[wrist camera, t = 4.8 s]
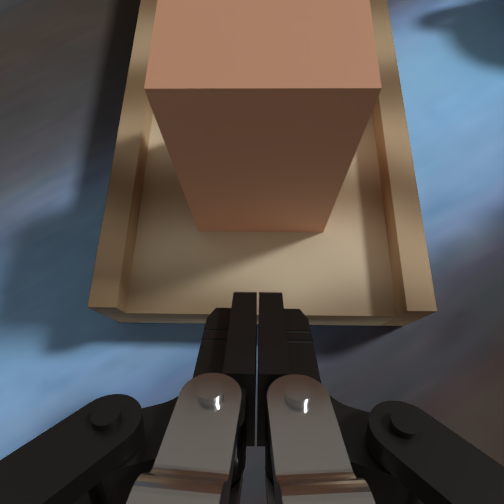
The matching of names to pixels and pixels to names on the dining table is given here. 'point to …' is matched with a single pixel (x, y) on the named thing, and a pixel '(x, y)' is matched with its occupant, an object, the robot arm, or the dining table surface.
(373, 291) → the tray
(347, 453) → the robot arm
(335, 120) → the terracotta block
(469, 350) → the dining table surface
